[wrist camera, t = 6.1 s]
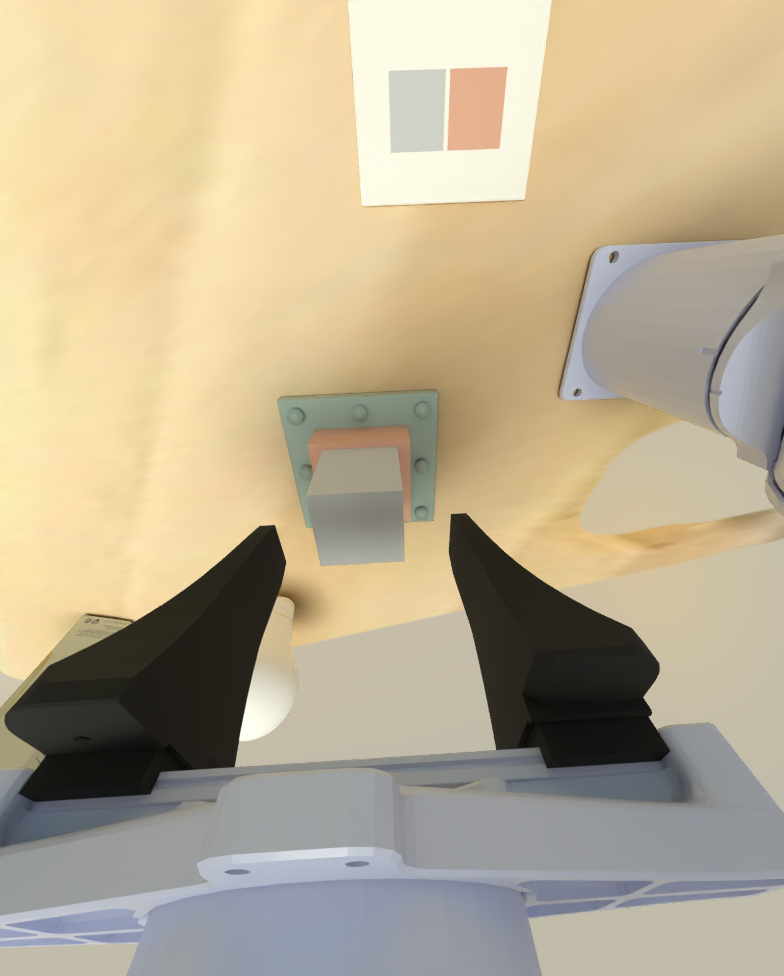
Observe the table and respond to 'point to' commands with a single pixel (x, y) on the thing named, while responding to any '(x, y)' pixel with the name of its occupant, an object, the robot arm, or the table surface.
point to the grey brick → (357, 506)
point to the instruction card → (445, 97)
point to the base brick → (367, 439)
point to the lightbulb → (272, 676)
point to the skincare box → (4, 745)
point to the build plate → (366, 412)
